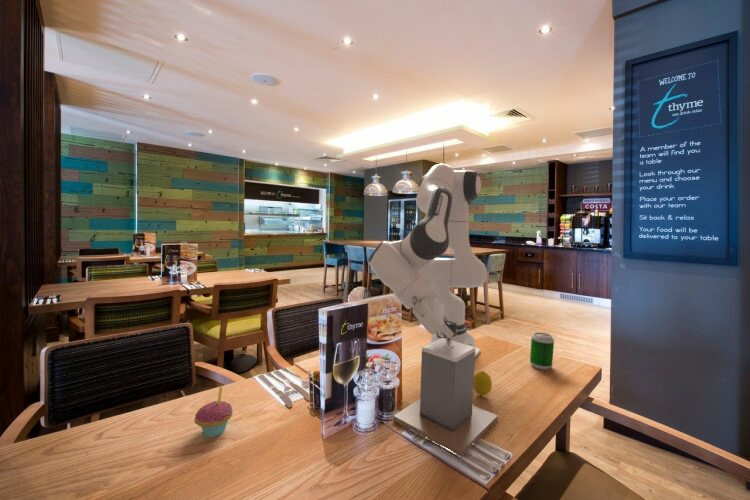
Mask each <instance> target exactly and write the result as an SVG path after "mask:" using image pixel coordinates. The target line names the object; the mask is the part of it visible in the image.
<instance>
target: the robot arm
mask: <svg viewBox="0 0 750 500" xmlns="http://www.w3.org/2000/svg"><path fill="white" fill-rule="evenodd" d="M418 184H419V185H418V190H417V194H416V206H417V207H418V208H419V210H420V211H421V212H422V213H424V214H425V215H424V218H422V219H421V220H420V221H419V222H418V223H416V225H415V226H414V227H413V229H412V230H411V231H410V232H409V233H408V234H407V236H406V237H404V238H403V239H401V240H397V241H386V240H384V241H381V242H380V243H379V244H378V245H377V246H376V247H375V249H374V250H373V251H372V253H371V254H370V255H369V256H368V265H369V266H370V268H371V269H372V271H373V272H374V274H375V275H376V276H377V278H378V279H379V280H380V281H381V282H382V284H384V285H385V286H387V287H388V288H389V289H390V290H391V291H392V293H393V295H394V297H396V299H398V301H399V302H400V303H401V304H402V305H403V306H404V308H406V309H407V310H410V309H412V313H413V315H414V317H415V318H416V319H417V320H418V321H419V323H420V324H421V325H422V326H423V327H424V329H425V330H426V331H427V332H428V333H430V334H431V338H430V343H432V342H434V341H436V340H439V339H441V338H445V339H446V336H447V337H448V338H451V337H452V336H453V335H454V333H453V331H452V330H451V329H450V328H448V327H447V326H446V325H445V323H444V322H446V321H450V322H455V323H456V324H457V330H456V336H455V337H452V341H455V342H459V343H462V344H466V345H469V346H472V347H475V359H476V356H477V357H478V356H479V354H480V353H481V349H480V348H479V347H477V346H475V337H474V336H473V335H471V334H470V333H469V332H468V329H467V327H470V324H471V322H470V321H469V320H466V319H465V318H466V303H465V301H464V300H463V299H462V298H461V297H460V296H458V295H456V294H455V293H453V292H451V290H450V288H451V287H453V288H465V289H471V288H478V287H482V286H483V285H484V283H486V281H487V279H488V278H487V277H488V270H487V267H486V265H485V263H484V262H482V260H481V259H479V258H478V257H477V256H476V255H475V253H474V252H473V250H472V247H471V244H470V233H469V231H470V230H469V227H470V210H469V205H471V203H472V202H473V201H475V200H476V199H477V198H478V197H479V195H480V191H481V189H482V181H481V178H480V174H479V173H478V172H477V170H473V169H472V170H470V169H466V170H461V169H460V170H458V169H457V170H456V169H453V168H452V166H450V165H448V164H445V163H438V164H435V165H433V166H432V167H431V168H430V169H429V170H428V171H427V172H426V174H423V176H422V177H421V178H420V179H419V183H418ZM447 250H449V251H451V252H452V253H453V254H454V257H453V258H452V257H440V256H441V255H443V254H444V253H445V252H447ZM442 333H443V334H445V335H446V336H444V335H442Z"/></svg>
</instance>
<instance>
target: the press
mask: <svg viewBox="0 0 750 500" xmlns="http://www.w3.org/2000/svg"><path fill="white" fill-rule="evenodd" d="M475 347H476V346H475ZM475 347H472V346H469V345H466V344H462V343H459V342H455V341H452V346H451V350H450V349H446V339H445V338H441V339H439V340H436V341H434V342H432V343H431V342H430V343H428V344H426V345H423V346H422V347H421V365H420V369H421V370H420V395H419V399H417V400H415V401H414V402H413V403H411V404H409V405H408V406H407V407H405V408H403V409H402V410H400V411H399V412H396V413H395V414H394V415H393V417H392V421H393V422H394V423H396V424H397V425H400V427H403V428H405V429H407V428H408V429H407V430H409V429H411V430H413V431H415V432H416V433H418V434H421V435H422V436H424V437H427V438H428V439H430V440H431V441H434V442H435V443H437V444H439V445H442V446H444V447H446V448H448V449H450V450H451V451H453V452H454V453H456V454H457V455H459V456H460V457H461V456H462V455H463V454H464V453H465V452H466V451H467V450H468V449H469V448H470V447H471V446H472V444H473V443H475V442H476V441H477V440H478V439H479V440H480V439H481V438H482V437H483V436H484V435H485V434H486V433H487V432H489V430H490V429H492V427H494V425H495V424H496V423H498V421H499V420H498V419H499V417H498V416H499V415H497V414H495V413H494V412H493V413H492V412H490V411H487V410H486V409H483V408H481V407H478V406H476V405H474V404H473V401H474V388H473V384H474V376H475V364H476V363H475V361H476V358H475ZM411 430H410V431H411ZM416 433H415V434H416ZM418 434H417V435H418ZM479 440H478V441H479ZM431 441H430V442H431ZM478 441H477V442H478ZM477 442H476V443H477ZM476 443H475V444H476ZM472 447H473V446H472ZM472 447H471V448H472ZM471 448H470V449H471ZM470 449H469V450H470ZM469 450H468V451H469ZM468 451H467V452H468ZM467 452H466V453H467ZM466 453H465V454H466ZM465 454H464V455H465ZM464 455H463V456H464ZM463 456H462V457H463ZM460 457H459V458H460ZM462 457H461V458H462Z"/></svg>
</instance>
